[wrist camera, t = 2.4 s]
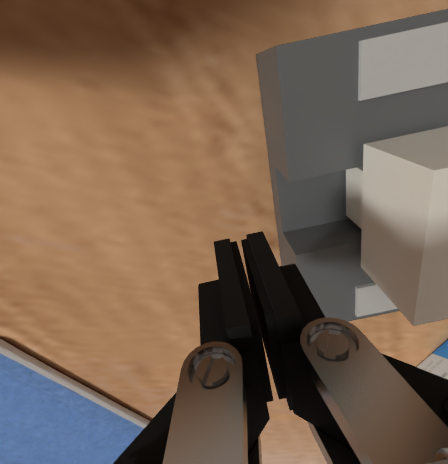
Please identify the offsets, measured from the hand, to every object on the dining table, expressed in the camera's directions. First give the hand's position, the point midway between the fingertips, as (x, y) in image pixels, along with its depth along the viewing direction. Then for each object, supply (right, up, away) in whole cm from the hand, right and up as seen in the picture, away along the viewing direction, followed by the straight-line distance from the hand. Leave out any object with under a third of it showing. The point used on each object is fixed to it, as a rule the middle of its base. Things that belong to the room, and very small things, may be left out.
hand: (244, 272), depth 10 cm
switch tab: (+7, +4, +5) cm, 10 cm away
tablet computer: (-15, -15, +16) cm, 26 cm away
